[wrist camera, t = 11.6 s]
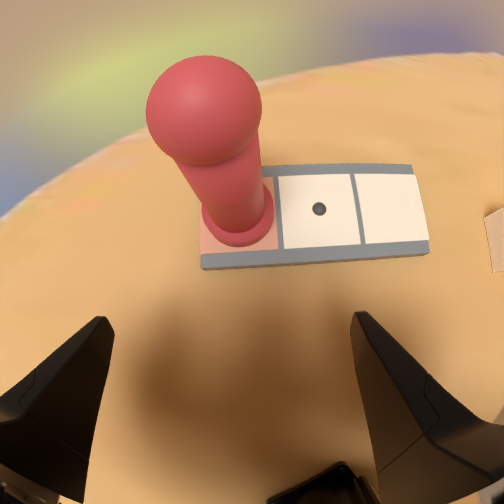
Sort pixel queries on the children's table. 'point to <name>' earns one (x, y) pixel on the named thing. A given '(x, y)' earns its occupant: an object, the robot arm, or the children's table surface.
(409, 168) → the board
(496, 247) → the die
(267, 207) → the pawn
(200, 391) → the children's table surface
